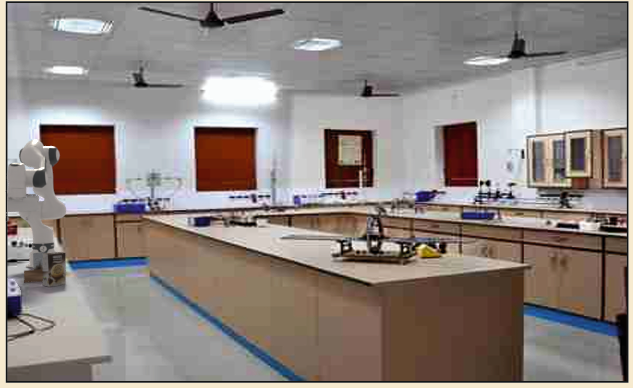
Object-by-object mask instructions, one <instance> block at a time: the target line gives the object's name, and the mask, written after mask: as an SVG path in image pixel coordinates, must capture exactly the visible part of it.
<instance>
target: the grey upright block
mask: <svg viewBox="0 0 633 388" xmlns="http://www.w3.org/2000/svg"><path fill="white" fill-rule="evenodd" d="M43 253H44V252H38V253H33V267H32V270H43Z"/></svg>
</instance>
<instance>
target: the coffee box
mask: <svg viewBox="0 0 633 388" xmlns="http://www.w3.org/2000/svg"><path fill="white" fill-rule="evenodd" d="M66 253H67V252H62V251H56V252H54V253H43V281H42V286H45V287H48V288H50V287H57V286H65V285H66V284H67V281H66V280H67V279H66V278H67V274H66V272H67V270H66V265H67V264H66V259H67V258H66V255H67V254H66Z"/></svg>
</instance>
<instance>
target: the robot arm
mask: <svg viewBox="0 0 633 388" xmlns="http://www.w3.org/2000/svg"><path fill="white" fill-rule="evenodd" d="M60 156H61V155H60V151H59V149H58V147H56V146H52V145H50V146H46V145H45V146H44V144H43V142H41V141H40V140H37V139H31V140H29V141H28V142H27V143H26V144H25V145H24V147H22V148H21V149H20V150H19V153H18V158H19V161H20V162H12V163H9V164H8V166H7V173H6V175H7V176H6V179H7V180H6V181H7V183H8V185H7V190H6V191H7V212H6V213H18V214H19V216H20V218H21V219H23V220H24V221H26V223H28V225H29V227H30V228H31V234H32V244H31V247H32V250H31V252H29V256H28V257H29V260H28V262H29V263H28V264H26V265H25V267H26V268H33V253H38V252H44V253H54V252H57V251H56V250H55V243H54V230H53V228H52V227H50V226H48V225H46V224H44V223H43V220H59V219H62V218H64V217H65V215H66V214H67V207H66V204H65V203H63V202H62V201H61V200H59V198H58V197H57V196H56V194H55V191H54V173H53V172H54V171H53V167H55V165H56V164H57V163H58V162H59V160H60ZM26 167H27V168H30V169H26ZM31 168H32V169H31ZM27 188H32V191H33V193H27ZM40 197H41V198H43V200H42V201H41V200H40ZM9 219H10V217H8V216H7V221H6V222H10V220H9Z"/></svg>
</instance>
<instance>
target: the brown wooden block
mask: <svg viewBox="0 0 633 388" xmlns="http://www.w3.org/2000/svg"><path fill="white" fill-rule="evenodd" d="M23 282H24V283H25V284H26V283H38V282H43V270H33V269H31V270H30V269H29V270H28V269H26V270H23Z"/></svg>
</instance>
